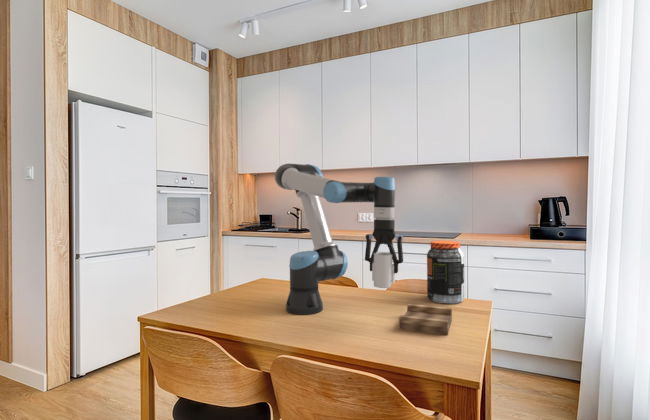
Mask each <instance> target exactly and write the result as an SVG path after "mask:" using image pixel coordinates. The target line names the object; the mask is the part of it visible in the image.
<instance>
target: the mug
mask: <svg viewBox="0 0 650 420" xmlns="http://www.w3.org/2000/svg"><path fill="white" fill-rule="evenodd" d="M392 264H393V260H392V255H391V254H390V252H383V251H378V252H377V253H376V254H375V253H374V281H373V287H375V288H378V289H389V288H391V285H392V283H391V282H392Z"/></svg>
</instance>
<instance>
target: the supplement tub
mask: <svg viewBox="0 0 650 420" xmlns="http://www.w3.org/2000/svg"><path fill="white" fill-rule="evenodd" d="M429 245H430V249H429V250H428V251H427V254H426V278H427V279H426V286H427V288H426V294H427V297H428V299H429V300H430V301H432V302H434V303H440V304H459V303H462V302H464V300H465V255H464V252H463V251H462V249H461V242H460V241H455V240H454V241H453V240H432V241H430V244H429Z"/></svg>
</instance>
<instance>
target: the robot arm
mask: <svg viewBox="0 0 650 420" xmlns="http://www.w3.org/2000/svg"><path fill="white" fill-rule="evenodd" d="M373 180H374V181H373V182H353V181H352V182H351V181H349V182H346V181H345V182H344V181H343V182H342V181H339V180H334V179H330V178H326V177H324V175H323V173H322V171H321V169H320V168H319V167H318V166H316V165H314V164H309V163H308V164H301V163H300V164H299V163H284V164H282V165H279V167H278V168H277V169H276V170H275V174H274V181H275V183H276V185H278V187H279V188H282V189H283V190H288V191H293V190H294V191H295V194H296V197H298V198H299V199H300V201H301V204H302V207H303V211H304V216H305V219H306V223H307V227H308V230H309V233H310V238H311V242H312V244H313V250H306V251H303V250H302V251H297V252H295V253H293V254H292V255H291V256H290V257H289V265H288V266H289V293H288V297H287V300H286V304H285V311H286V312H287V313H289V314H293V315H313V314H317V313H320V312H322V311H323V309H324V304H323V303H324V302H323V301H322V300H323V299H322V297H321V294H320V291H319V282H324V281H328V280H335V279H338V278H342V277H343V276H344V275H345V274H346V272H347V270H348V265H349V264H348V263H349V262H348V257H347V255H346V253H345V252H344V251H342V250H340V249H339V246H338V244H336V243H335V242H334V241H333V238H332V234H331V231H330V227H329V224H328V221H327V217H326V213H325V210H324V206H323V203H322V202H323V201H322V199H321V198H323V199H325V200H326V201H327V203H331V204H332V203H333V204H340V203H373V217H374V218H375V219H374V220H373V231H372V233H368V234H365V240H366V244H365V245H366V246H365V252H364V254H365V255H364V260H365V261H366V262H369V271H370V272H371V273H372V274H371V275H372V276H371V281H373V282H374V253H375V254H376V253H377V252H379V249H380V246H381V245H386V247H388V250H389V253H390V254H391V255H392V275H391V284H392V283H395V282H396V274H398V272H399V264H402V263H403V262H404V253H403V239H404V236H403V235H398V234H397V233H396V231H395V226H396V225H395V214H396V213H395V206H396V205H395V198H396V197H395V196H396V182H395V178H394V177H393V176H376V177H374V179H373ZM373 239H374V240H375V243H374V247H373V250H372V253H371V249H372V240H373ZM394 239H395V241H396V245H397V252H396V250H395V248H394V243H393V240H394Z"/></svg>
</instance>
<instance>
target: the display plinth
mask: <svg viewBox="0 0 650 420" xmlns="http://www.w3.org/2000/svg"><path fill="white" fill-rule="evenodd" d="M406 307H407V308H406V309H407V310H406V311H405V313H404V314H400V315H399V316H398V322H399V325H398V326H399V330H405V331H411V332H412V331H414V332H421V333H429V334H438V335H444V336H449V331H450V329H451V324H452V321H453V318H452V317H453V316H452V314H453V308H452V307H445V306H444V307H443V306H434V305H433V306H432V305H423V304H414V303H408V304H407V306H406Z"/></svg>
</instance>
